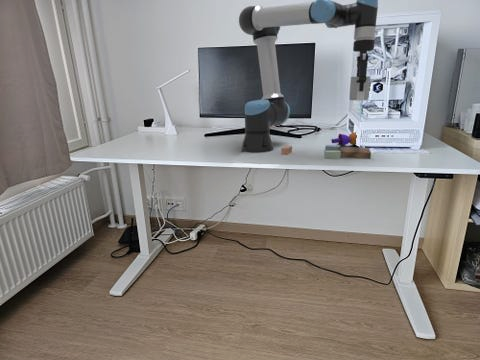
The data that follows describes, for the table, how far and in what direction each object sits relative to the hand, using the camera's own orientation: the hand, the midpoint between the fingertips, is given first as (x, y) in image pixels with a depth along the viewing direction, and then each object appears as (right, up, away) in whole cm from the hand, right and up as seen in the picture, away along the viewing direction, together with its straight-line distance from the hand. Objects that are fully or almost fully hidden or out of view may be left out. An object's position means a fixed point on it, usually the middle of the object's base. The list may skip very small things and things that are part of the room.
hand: (359, 99), depth 127 cm
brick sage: (-10, -24, +4) cm, 26 cm away
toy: (-4, -14, +27) cm, 31 cm away
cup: (0, 0, 0) cm, 0 cm away
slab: (0, -22, +7) cm, 23 cm away
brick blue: (-7, -20, +15) cm, 26 cm away
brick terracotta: (-27, -21, +15) cm, 37 cm away
